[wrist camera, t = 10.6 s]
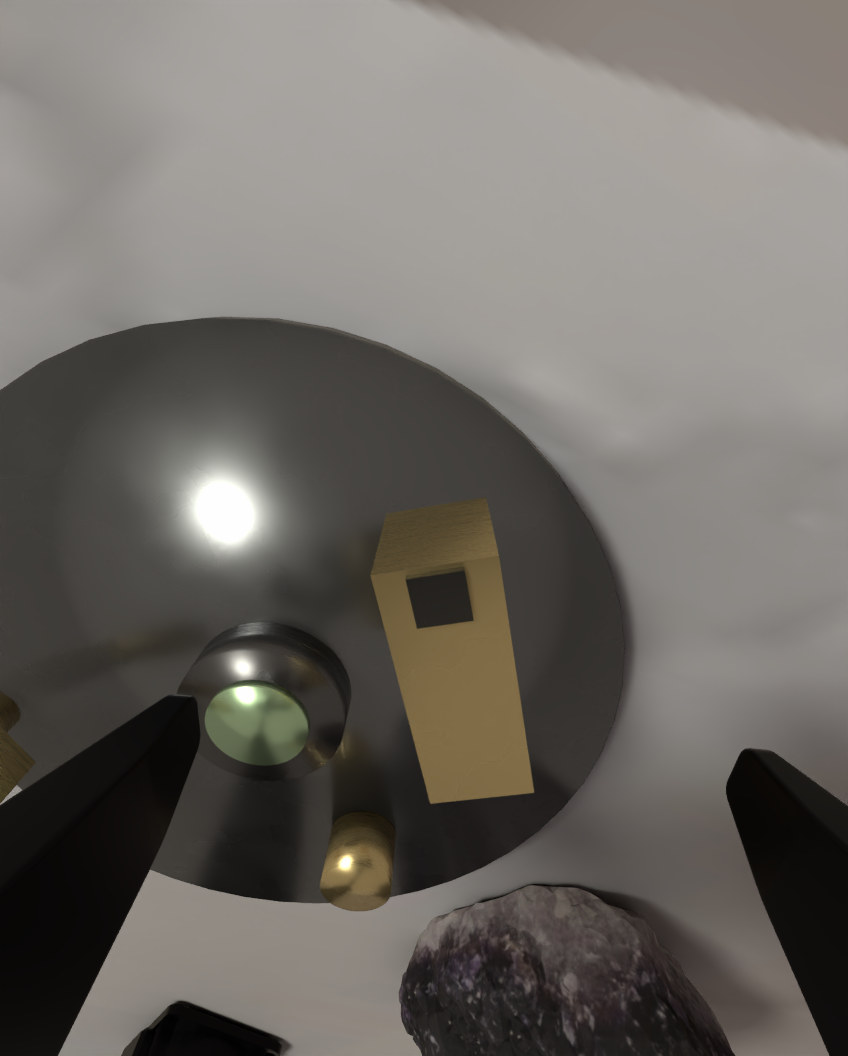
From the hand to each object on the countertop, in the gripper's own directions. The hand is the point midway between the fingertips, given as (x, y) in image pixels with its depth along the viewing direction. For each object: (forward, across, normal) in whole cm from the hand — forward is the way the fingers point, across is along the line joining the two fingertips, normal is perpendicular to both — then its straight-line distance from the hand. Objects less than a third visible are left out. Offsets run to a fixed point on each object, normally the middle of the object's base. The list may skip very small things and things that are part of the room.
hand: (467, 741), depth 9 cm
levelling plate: (+8, +5, +5) cm, 11 cm away
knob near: (+7, 0, 0) cm, 7 cm away
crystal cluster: (+8, -7, +22) cm, 24 cm away
